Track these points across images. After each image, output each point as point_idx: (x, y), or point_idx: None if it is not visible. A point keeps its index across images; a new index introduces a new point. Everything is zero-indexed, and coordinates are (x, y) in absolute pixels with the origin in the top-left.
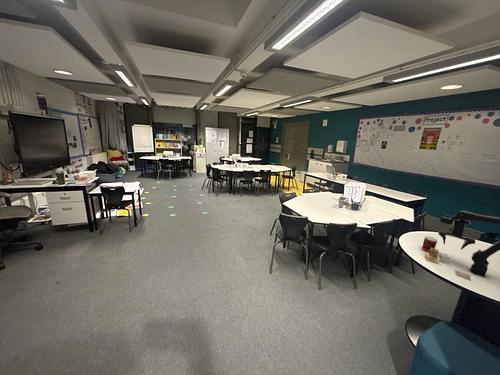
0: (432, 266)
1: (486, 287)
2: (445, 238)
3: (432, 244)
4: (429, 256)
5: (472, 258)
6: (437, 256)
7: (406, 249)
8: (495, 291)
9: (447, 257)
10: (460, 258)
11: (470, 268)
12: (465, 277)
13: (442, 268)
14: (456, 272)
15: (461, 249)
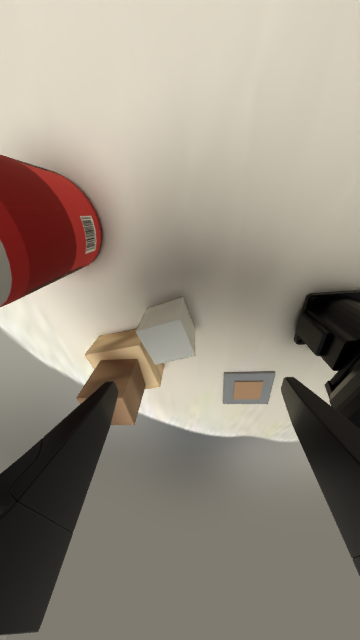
0: (151, 398)
1: None
2: (57, 568)
3: (37, 289)
4: None
5: (338, 411)
6: (142, 363)
7: (16, 332)
8: None
9: (185, 356)
10: (292, 114)
11: (301, 322)
12: (253, 399)
13: (181, 388)
14: (226, 387)
15: (286, 394)
